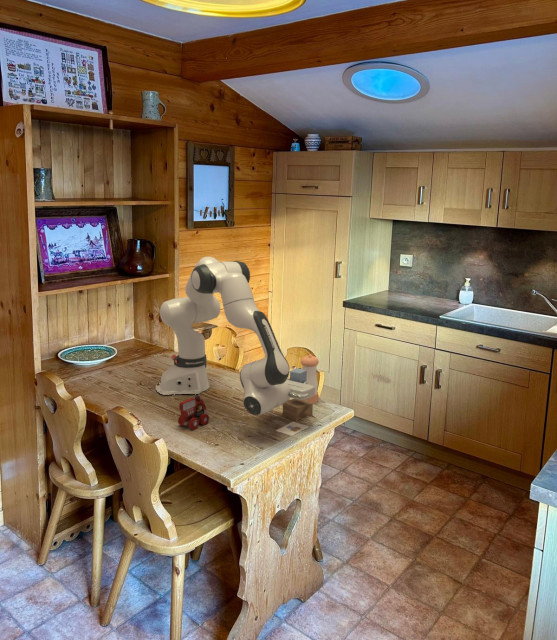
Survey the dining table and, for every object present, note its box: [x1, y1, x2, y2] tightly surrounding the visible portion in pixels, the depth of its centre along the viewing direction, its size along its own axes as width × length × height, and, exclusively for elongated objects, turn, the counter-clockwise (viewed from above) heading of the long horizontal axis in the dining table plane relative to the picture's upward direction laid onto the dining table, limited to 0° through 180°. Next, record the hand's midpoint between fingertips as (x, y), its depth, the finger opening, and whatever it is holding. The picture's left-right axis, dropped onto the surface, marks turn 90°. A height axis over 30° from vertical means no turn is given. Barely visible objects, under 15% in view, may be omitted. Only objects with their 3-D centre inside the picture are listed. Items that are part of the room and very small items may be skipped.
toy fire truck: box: [177, 394, 210, 431], centre depth 220 cm, size 7×12×10 cm, turn 143°
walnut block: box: [282, 398, 314, 421], centre depth 230 cm, size 8×8×5 cm
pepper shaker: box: [300, 354, 319, 404], centre depth 242 cm, size 7×7×19 cm
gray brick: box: [289, 367, 307, 383], centre depth 227 cm, size 4×4×10 cm
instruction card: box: [276, 421, 310, 437], centre depth 217 cm, size 10×7×1 cm
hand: (299, 381), depth 228 cm, fingers closed on gray brick, 4 cm apart
